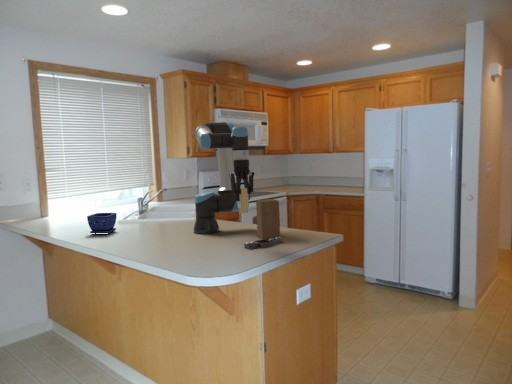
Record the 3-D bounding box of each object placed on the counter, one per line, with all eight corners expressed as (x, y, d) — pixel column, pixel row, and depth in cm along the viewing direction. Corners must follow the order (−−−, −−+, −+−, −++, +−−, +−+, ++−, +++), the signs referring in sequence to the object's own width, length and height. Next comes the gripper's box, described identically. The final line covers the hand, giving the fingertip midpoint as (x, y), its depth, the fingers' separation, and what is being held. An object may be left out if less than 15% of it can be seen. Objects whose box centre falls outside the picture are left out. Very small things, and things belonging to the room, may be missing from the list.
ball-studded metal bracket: (242, 247, 187) (241, 242, 187) (276, 240, 199) (275, 235, 199) (250, 250, 181) (250, 244, 181) (285, 243, 193) (285, 237, 193)
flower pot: (118, 231, 243) (117, 212, 242) (108, 235, 230) (107, 215, 229) (98, 231, 244) (97, 212, 243) (87, 235, 231) (85, 216, 230)
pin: (238, 212, 190) (237, 188, 189) (244, 211, 192) (243, 187, 190) (242, 213, 187) (241, 188, 186) (248, 212, 189) (247, 188, 188)
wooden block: (262, 239, 203) (261, 201, 201) (257, 235, 213) (255, 199, 211) (280, 237, 206) (279, 200, 204) (274, 234, 215) (273, 198, 213)
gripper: (230, 159, 179) (232, 209, 181) (259, 158, 188) (261, 206, 190) (222, 160, 186) (224, 208, 188) (251, 158, 195) (253, 205, 197)
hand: (243, 207), depth 189 cm, fingers closed on pin, 3 cm apart
